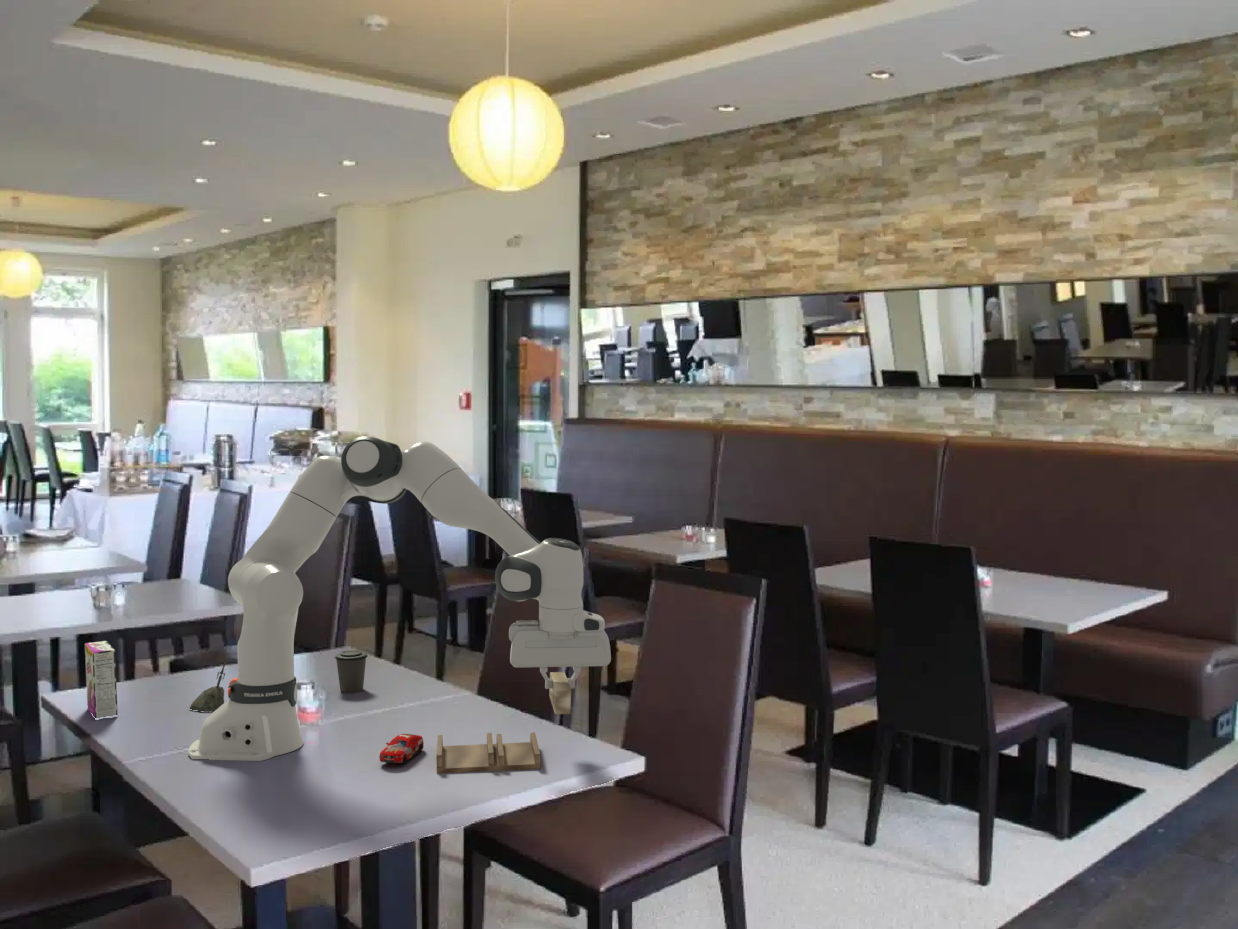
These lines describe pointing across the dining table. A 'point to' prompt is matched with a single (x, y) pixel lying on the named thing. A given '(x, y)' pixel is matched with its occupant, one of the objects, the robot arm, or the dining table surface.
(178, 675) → the dining table surface
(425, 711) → the dining table surface
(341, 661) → the coffee cup
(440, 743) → the jig
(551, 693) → the bar
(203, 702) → the sword in stone
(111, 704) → the candy bar box
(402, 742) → the race car
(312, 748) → the dining table surface
